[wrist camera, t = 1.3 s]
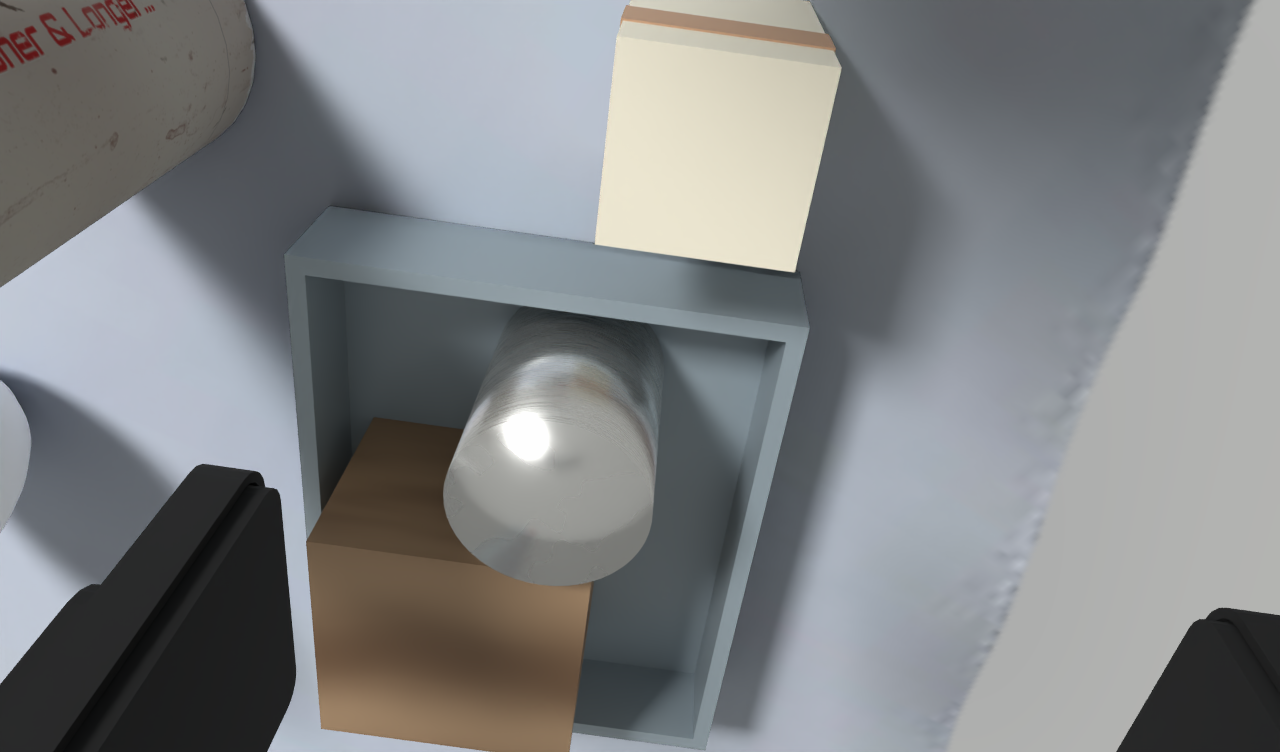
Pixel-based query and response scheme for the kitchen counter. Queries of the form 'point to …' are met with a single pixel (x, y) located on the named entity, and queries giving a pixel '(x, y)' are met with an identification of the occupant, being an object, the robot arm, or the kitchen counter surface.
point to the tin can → (560, 449)
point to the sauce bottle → (12, 452)
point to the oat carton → (716, 129)
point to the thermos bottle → (107, 106)
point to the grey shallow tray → (688, 435)
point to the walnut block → (433, 613)
